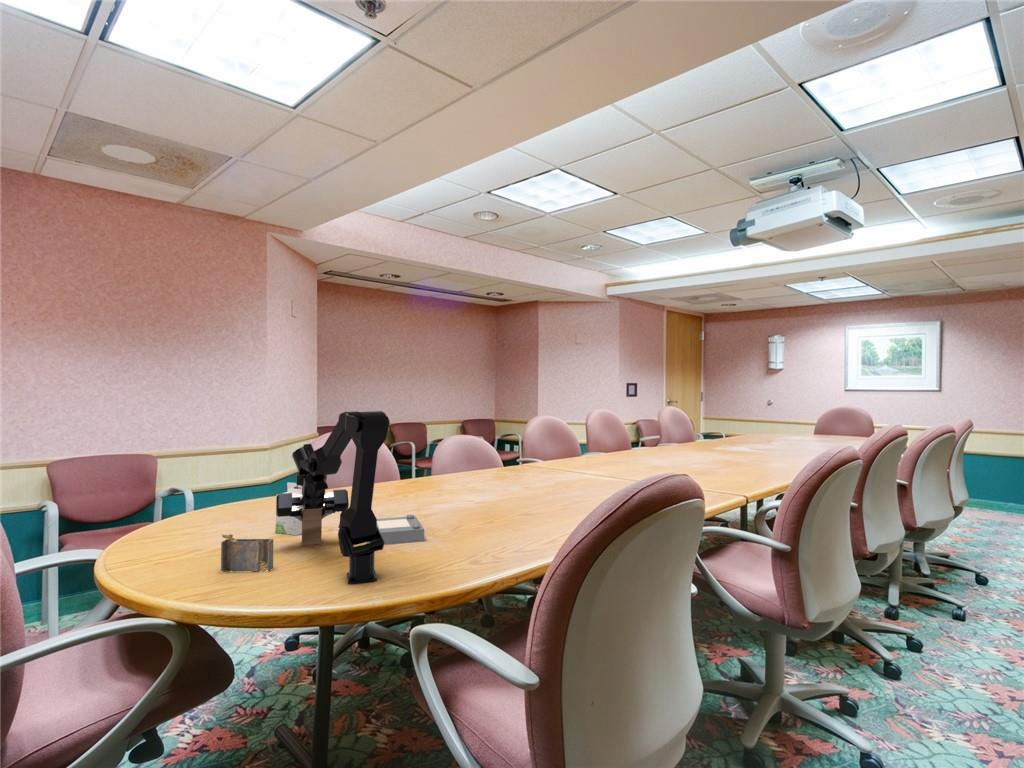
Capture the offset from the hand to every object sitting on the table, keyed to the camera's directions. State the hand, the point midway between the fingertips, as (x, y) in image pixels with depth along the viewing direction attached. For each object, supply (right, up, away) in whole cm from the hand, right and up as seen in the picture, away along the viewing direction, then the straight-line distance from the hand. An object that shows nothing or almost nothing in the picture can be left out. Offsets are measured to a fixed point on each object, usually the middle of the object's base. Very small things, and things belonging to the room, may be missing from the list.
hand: (311, 518), depth 152 cm
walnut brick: (0, -7, -1) cm, 7 cm away
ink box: (-10, -7, +9) cm, 15 cm away
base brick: (+22, -7, +6) cm, 24 cm away
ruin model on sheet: (-7, -7, -24) cm, 26 cm away
